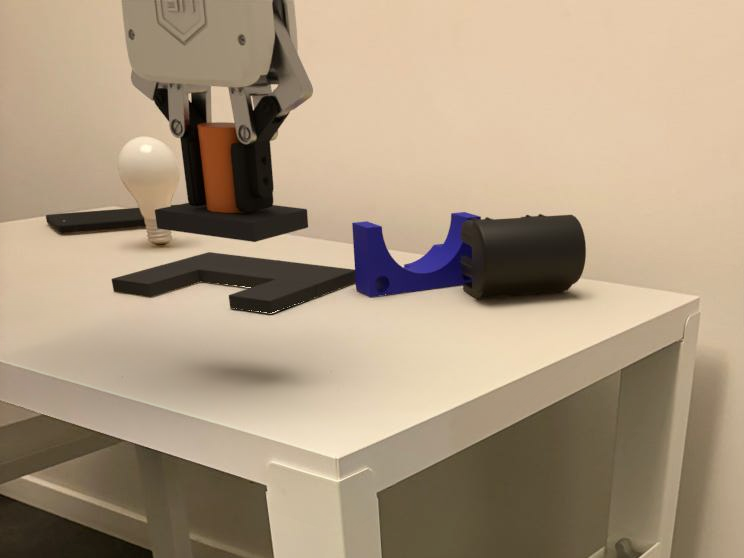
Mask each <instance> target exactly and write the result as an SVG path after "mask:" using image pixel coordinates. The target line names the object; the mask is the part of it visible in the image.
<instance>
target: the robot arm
mask: <svg viewBox="0 0 744 558" xmlns="http://www.w3.org/2000/svg"><path fill="white" fill-rule="evenodd" d="M295 6H296V5H295V0H121V11H122V20H123V21H122V22H123V29H124V38H125V44H126V51H127V57H128V61H129V65H130V67H131V73H130V81H131V83H132V85H133V86H134V87H135V88H136V89H137V90H138V91H140V92H141V93H142V94H143V95H144V96H145V97H147V98H148V99H149V100H151V101H153V102H154V104H155V106H156V107H157V108H158V110H159V111H160V113H161V114H162V115H163V117H165V119H166V120H167V121H168V122H169V123H168V126H169V131H170V133H171V134H172V136H174V138H176V139H179V140H180V148H181V155H182V156H181V157H182V163H183V172H184V180H185V188H186V196H187V203H189V204H190V205H191V206H203V205H207V204H206V195H205V186H204V178H203V169H202V160H201V151H200V143H199V134H198V124H202V123H213V122H212V119H213V117H212V87H218V88H219V87H221V88H228V94H229V100H230V106H231V111H232V115H233V123H235V128H236V134H237V137H238V139H239V143H233V144H231V161H232V171H233V181H234V191H235V201H236V207H237V209H238V210H239V211H240V212H252V211H257V210H261V209H265V208H270V207H272V205H274V176H273V163H272V162H273V161H272V150H271V142H272V141H275V140H276V139H277V138H278V135H279V129H280V127H281V126H282V124H283V123H284V122H285V120H286V119H287V117H288V116H289V115H290V113H291V112H292V111H294V110H295V109H297V108H298V107H300V106H301V105H302V104H304V103H305V102H306V101H308V100H309V99H311V97H313V94H314V88H313V87H314V86H313V84H312V82H311V80H310V78H309V75H308V74H307V71H306V69H305V67H304V65H303V63H302V60H301V58H300V57H299V51H298V49H299V48H298V47H299V46H298V45H299V43H298V29H297V28H298V27H297V19H296V8H295ZM272 85H277V87H276V88H274V89H272ZM189 94H190V99H189Z"/></svg>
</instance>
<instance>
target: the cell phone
mask: <svg viewBox="0 0 744 558" xmlns="http://www.w3.org/2000/svg"><path fill="white" fill-rule="evenodd" d="M175 205H176V204H171V206H175ZM45 220H46V223H47V224H48V225H49V226H50V227H51V228H53V229H54V230H55V231H56V232H58V233H59V234H73V233H83V232H96V231H108V230H119V229H130V228H131V229H132V228H142V227H146V224H145V221H144V217H143V216H142V214H141V212H140V209H139V207H129V208H117V209H104V210H103V209H102V210H90V211H75V212H65V213H64V212H63V213H61V212H60V213H51V214H46V215H45Z"/></svg>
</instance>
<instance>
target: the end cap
mask: <svg viewBox="0 0 744 558" xmlns="http://www.w3.org/2000/svg"><path fill="white" fill-rule="evenodd" d="M460 237H461V241H462V242H464V243H466V244H468V245H470V246H471V248H472V259H471V258H469V257H467V256H465V255H464V256H461V260H460V263H461V269H462V272H463V273H464V274H465V275H467V276H468V277H470V278H472V282H464V283H463V285H462V290H463V291H464V292H466V293H467V294H469V295H470V296H471V297H473V298H475V299H478V300H479V299H488V298H501V297H510V296H512V297H513V296H522V295H535V294H544V293H557V292H567V291H569V290H570V288H571V287H572V286H573V285H575V284H576V283H578V282H579V280H581V277H582V275H583V273H584V269H585V264H586V258H587V247H586V246H587V245H586V244H587V243H586V237H585V233H584V228H583V226H582V224H581V222H580V220H579V219H578V218H577V217H576V216H575V215H573V214H560V215H558V214H557V215H544V214H542V213H539V214H538V215H529V214H526V215H525V216H520V217H511V218H490V217H488V216H487V217H485V218H481V219H480V220H477V219H475V218H473V219H472V220H467V221H465V222H463V224H462V226H461V234H460Z"/></svg>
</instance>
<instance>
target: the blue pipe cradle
mask: <svg viewBox="0 0 744 558" xmlns="http://www.w3.org/2000/svg"><path fill="white" fill-rule="evenodd" d="M473 218H475V219H477V220H480V219H482V217H481V216H480V215H476V214H473V213H470V212H466V211H459V212H451V213H450V222H449V223H450V224H449V229H448V232H447V235H446V237H445V240H444V242H443V243H437V244H433V245H432V246H431V247H430V249H429V250H428V251H427V252H426V253H425V254H424V255H423V256H421V257H420V258H418V259H416V260H414V261H412V262H408V263H405V264H403V266H402V265H400V264H399V263H398V262H397V261H396V260H395V259H394V257H393V256H392V254H391V253H390V252H389V250H388V247H387V244H386V241H385V239H384V234H383V233H384V232H383V226H382V225H379V224H375V223H373V222H370V221H368V220H366V221H356V222H352V223H351V224H352V225H351V227H352V243H353V261H354V270H355V279H356V283H355V291H356V290H357V291H356V292H358V291H359V292H358V293H360V292H361V293H360V294H362V293H363V294H362V295H364V294H365V296H367V297H369V296H370V297H369V298H373V297H372V296H376V297H380V296H379V295H384V296H389V295H388V294H391V295H397V294H396V293H398V294H404V293H403V292H406V293H413V292H421V291H428V290H434V289H443V288H450V287H456V286H463V283H464V282H472V278H470V277H468V276H467V275H465V274H464V273H463V272H462V269H461V263H460V260H461V256H464V255H465V256H467V257H469V258H471V259H472V248H471V246H470V245H468V244H466V243H464V242H462V241H461V237H460V234H461V226H462V224H463V222H465V221H467V220H472V219H473ZM385 294H386V295H385Z"/></svg>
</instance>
